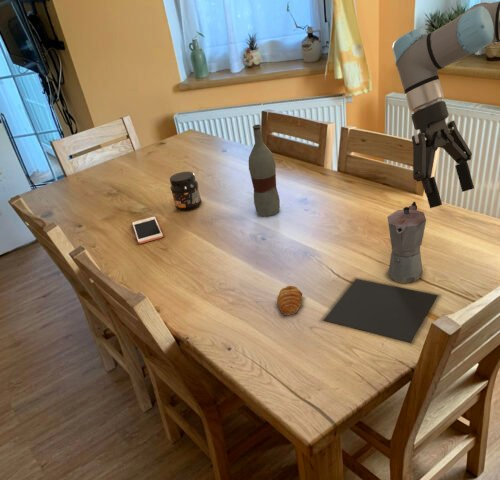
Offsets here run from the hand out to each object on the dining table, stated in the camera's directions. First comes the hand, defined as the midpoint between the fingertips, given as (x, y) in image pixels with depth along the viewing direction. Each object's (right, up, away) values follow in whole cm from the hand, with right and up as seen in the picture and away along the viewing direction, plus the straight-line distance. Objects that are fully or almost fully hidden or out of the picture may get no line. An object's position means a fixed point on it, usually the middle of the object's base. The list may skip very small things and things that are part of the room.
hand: (452, 198), depth 116 cm
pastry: (-36, -24, +16) cm, 47 cm away
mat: (-15, -25, +9) cm, 30 cm away
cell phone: (-85, +6, +65) cm, 107 cm away
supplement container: (-71, +18, +77) cm, 106 cm away
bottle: (-41, +12, +62) cm, 75 cm away
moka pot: (-5, -16, +19) cm, 25 cm away
